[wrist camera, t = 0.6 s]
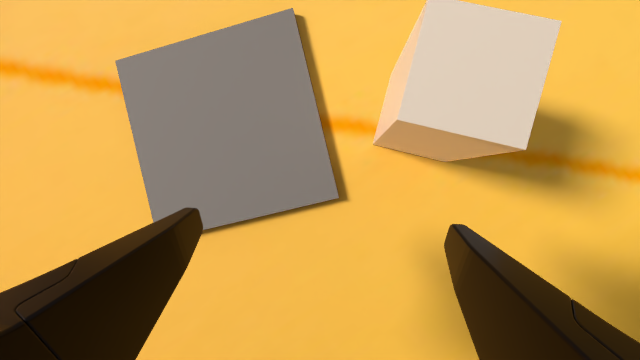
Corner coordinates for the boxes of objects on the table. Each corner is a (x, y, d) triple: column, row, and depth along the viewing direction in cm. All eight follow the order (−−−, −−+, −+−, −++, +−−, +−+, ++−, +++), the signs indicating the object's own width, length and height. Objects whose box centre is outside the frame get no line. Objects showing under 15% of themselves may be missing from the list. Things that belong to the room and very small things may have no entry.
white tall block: (444, 161, 22) (526, 149, 12) (372, 144, 22) (396, 119, 13) (464, 90, 21) (561, 21, 12) (391, 73, 22) (429, -5, 12)
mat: (338, 197, 22) (338, 197, 22) (163, 238, 24) (157, 240, 23) (294, 13, 22) (292, 7, 22) (122, 64, 24) (115, 60, 23)
